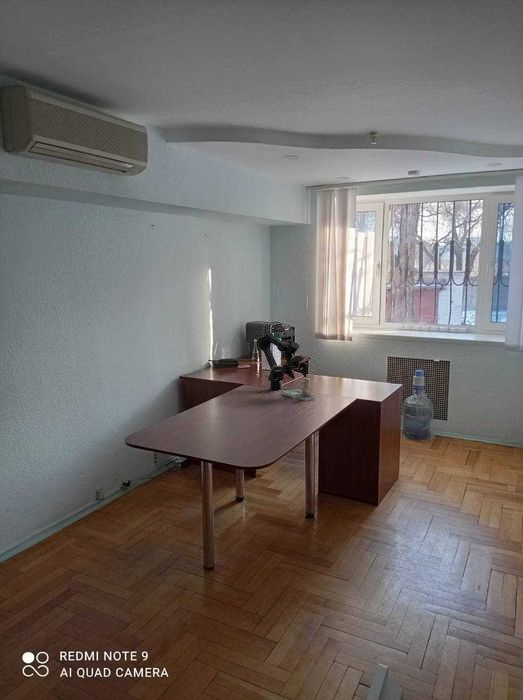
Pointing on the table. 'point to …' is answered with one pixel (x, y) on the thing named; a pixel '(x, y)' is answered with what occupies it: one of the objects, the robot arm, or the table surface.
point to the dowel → (305, 387)
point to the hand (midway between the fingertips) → (300, 378)
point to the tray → (292, 393)
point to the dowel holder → (305, 398)
